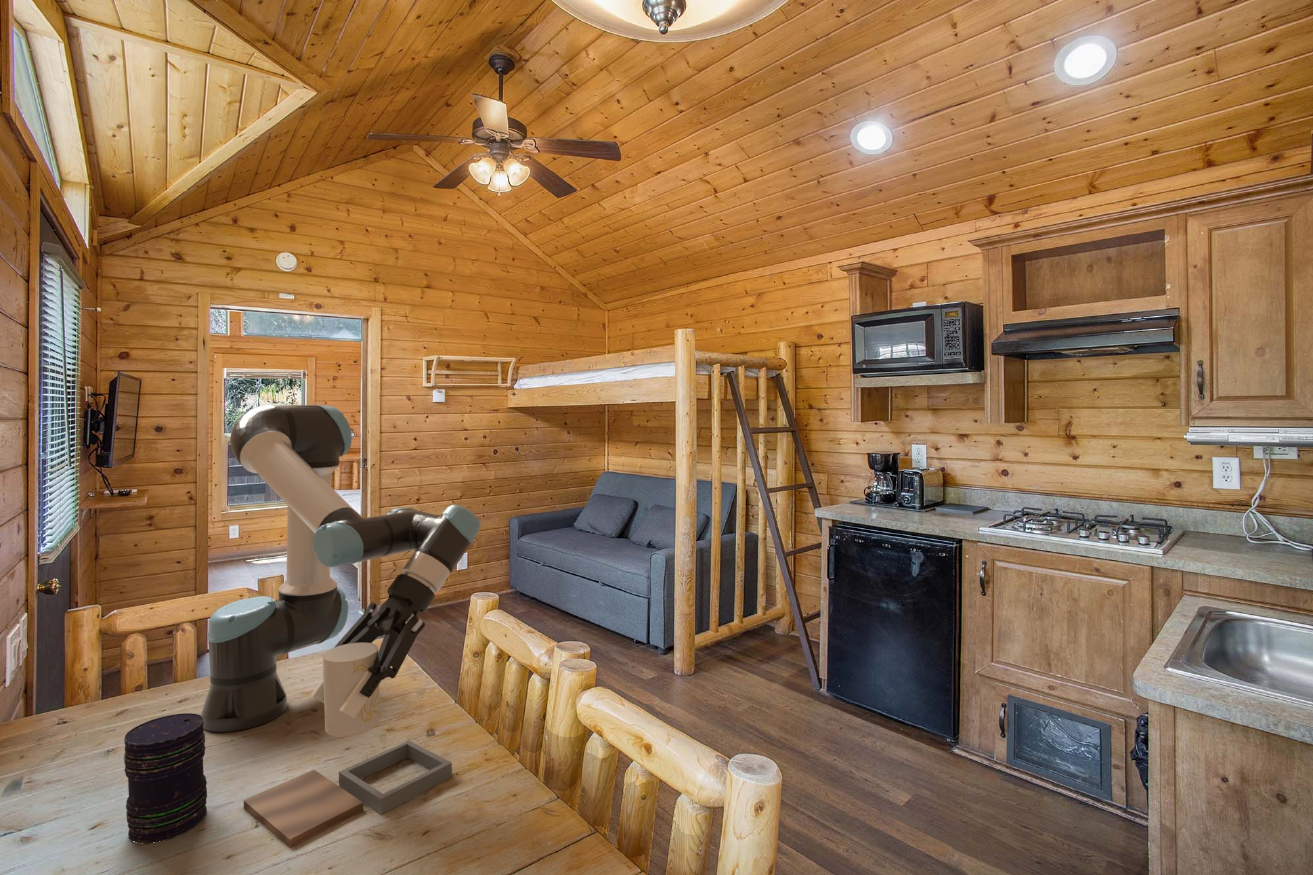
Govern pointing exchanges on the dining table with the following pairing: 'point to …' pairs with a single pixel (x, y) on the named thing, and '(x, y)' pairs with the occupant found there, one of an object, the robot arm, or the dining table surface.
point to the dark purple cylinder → (165, 777)
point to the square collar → (393, 798)
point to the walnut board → (302, 807)
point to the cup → (348, 688)
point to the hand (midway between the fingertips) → (331, 706)
